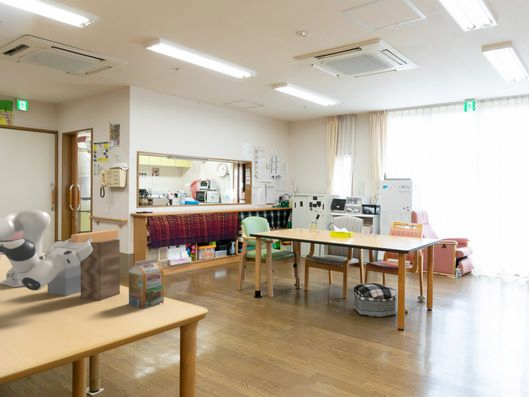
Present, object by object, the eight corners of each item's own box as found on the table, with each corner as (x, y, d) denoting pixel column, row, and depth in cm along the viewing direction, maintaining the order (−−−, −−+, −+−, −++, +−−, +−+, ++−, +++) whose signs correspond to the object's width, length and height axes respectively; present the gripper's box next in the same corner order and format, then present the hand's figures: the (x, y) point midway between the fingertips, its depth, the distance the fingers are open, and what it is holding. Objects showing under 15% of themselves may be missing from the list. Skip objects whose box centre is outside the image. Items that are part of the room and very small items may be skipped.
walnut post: (80, 297, 184) (80, 241, 184) (100, 291, 196) (100, 238, 195) (100, 300, 180) (100, 242, 179) (119, 293, 191) (119, 239, 190)
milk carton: (149, 298, 183) (149, 257, 182) (163, 303, 176) (163, 260, 176) (128, 303, 175) (128, 260, 174) (142, 308, 168) (142, 263, 167)
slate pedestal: (47, 293, 191) (47, 258, 191) (68, 287, 202) (68, 254, 202) (66, 296, 187) (65, 259, 186) (86, 290, 198) (86, 255, 197)
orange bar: (71, 244, 174) (71, 234, 174) (111, 237, 197) (111, 229, 197) (78, 244, 173) (78, 235, 173) (118, 238, 195) (118, 230, 195)
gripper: (45, 262, 172) (68, 243, 183) (81, 266, 164) (103, 245, 175) (38, 251, 169) (62, 231, 180) (74, 254, 161) (97, 234, 172)
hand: (82, 238), depth 178 cm, fingers open, 8 cm apart
